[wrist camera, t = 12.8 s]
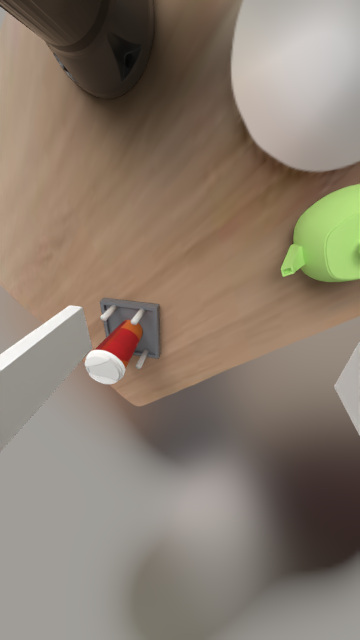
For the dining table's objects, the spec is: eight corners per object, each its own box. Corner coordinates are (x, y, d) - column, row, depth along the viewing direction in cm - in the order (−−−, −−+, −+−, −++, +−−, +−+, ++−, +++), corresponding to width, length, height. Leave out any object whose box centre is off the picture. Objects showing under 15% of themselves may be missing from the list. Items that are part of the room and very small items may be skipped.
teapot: (278, 286, 43) (293, 317, 32) (261, 217, 38) (273, 228, 27) (407, 248, 36) (480, 272, 25) (408, 156, 30) (503, 138, 20)
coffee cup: (121, 342, 58) (90, 385, 45) (112, 316, 54) (75, 354, 41) (151, 342, 56) (127, 387, 43) (143, 314, 52) (115, 354, 39)
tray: (103, 297, 53) (87, 311, 47) (159, 304, 51) (149, 319, 45) (112, 346, 61) (99, 363, 55) (160, 353, 58) (152, 372, 52)
